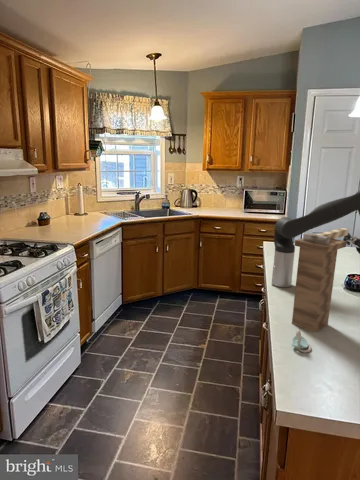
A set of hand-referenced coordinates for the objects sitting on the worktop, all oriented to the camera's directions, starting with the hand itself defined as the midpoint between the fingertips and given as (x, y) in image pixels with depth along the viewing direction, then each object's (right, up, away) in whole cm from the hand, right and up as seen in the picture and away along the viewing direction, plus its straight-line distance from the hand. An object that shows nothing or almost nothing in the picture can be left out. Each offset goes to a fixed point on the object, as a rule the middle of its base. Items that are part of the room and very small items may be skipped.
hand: (357, 236), depth 144 cm
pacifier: (-34, -37, -31) cm, 59 cm away
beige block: (-18, -1, -16) cm, 24 cm away
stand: (-24, -33, -13) cm, 43 cm away
